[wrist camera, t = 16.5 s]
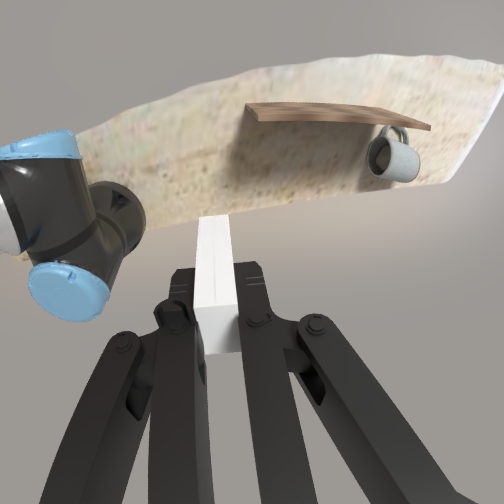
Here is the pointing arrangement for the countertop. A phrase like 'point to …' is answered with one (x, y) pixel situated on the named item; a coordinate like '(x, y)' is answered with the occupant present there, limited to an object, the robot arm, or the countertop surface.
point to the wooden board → (330, 114)
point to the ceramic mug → (393, 157)
